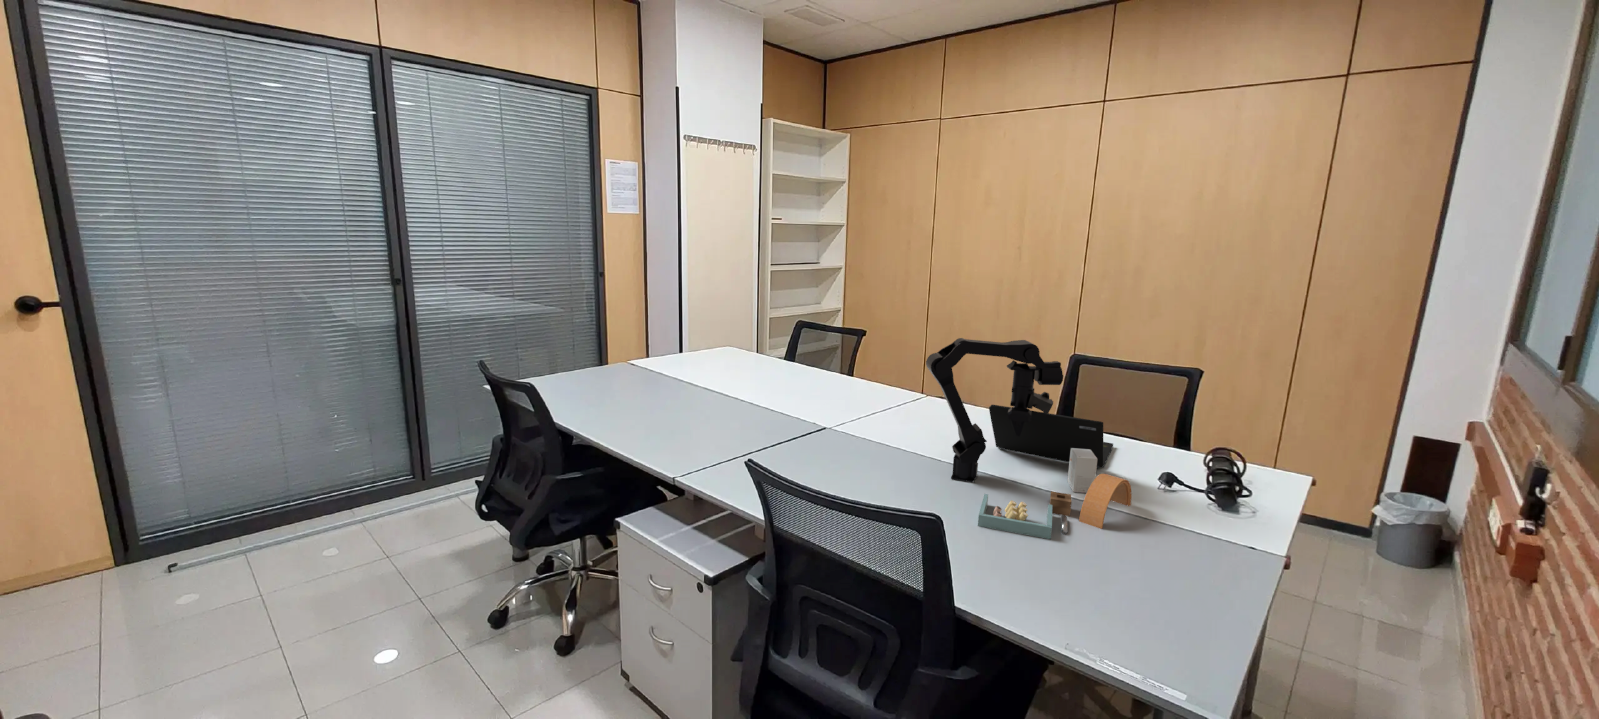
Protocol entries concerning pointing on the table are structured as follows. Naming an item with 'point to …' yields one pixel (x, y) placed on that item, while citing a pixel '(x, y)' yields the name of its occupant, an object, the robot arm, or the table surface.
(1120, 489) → the arch
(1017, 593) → the table surface
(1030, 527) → the tray
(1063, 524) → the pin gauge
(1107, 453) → the laptop
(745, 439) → the table surface
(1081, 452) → the small box
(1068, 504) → the bored block
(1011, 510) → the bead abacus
